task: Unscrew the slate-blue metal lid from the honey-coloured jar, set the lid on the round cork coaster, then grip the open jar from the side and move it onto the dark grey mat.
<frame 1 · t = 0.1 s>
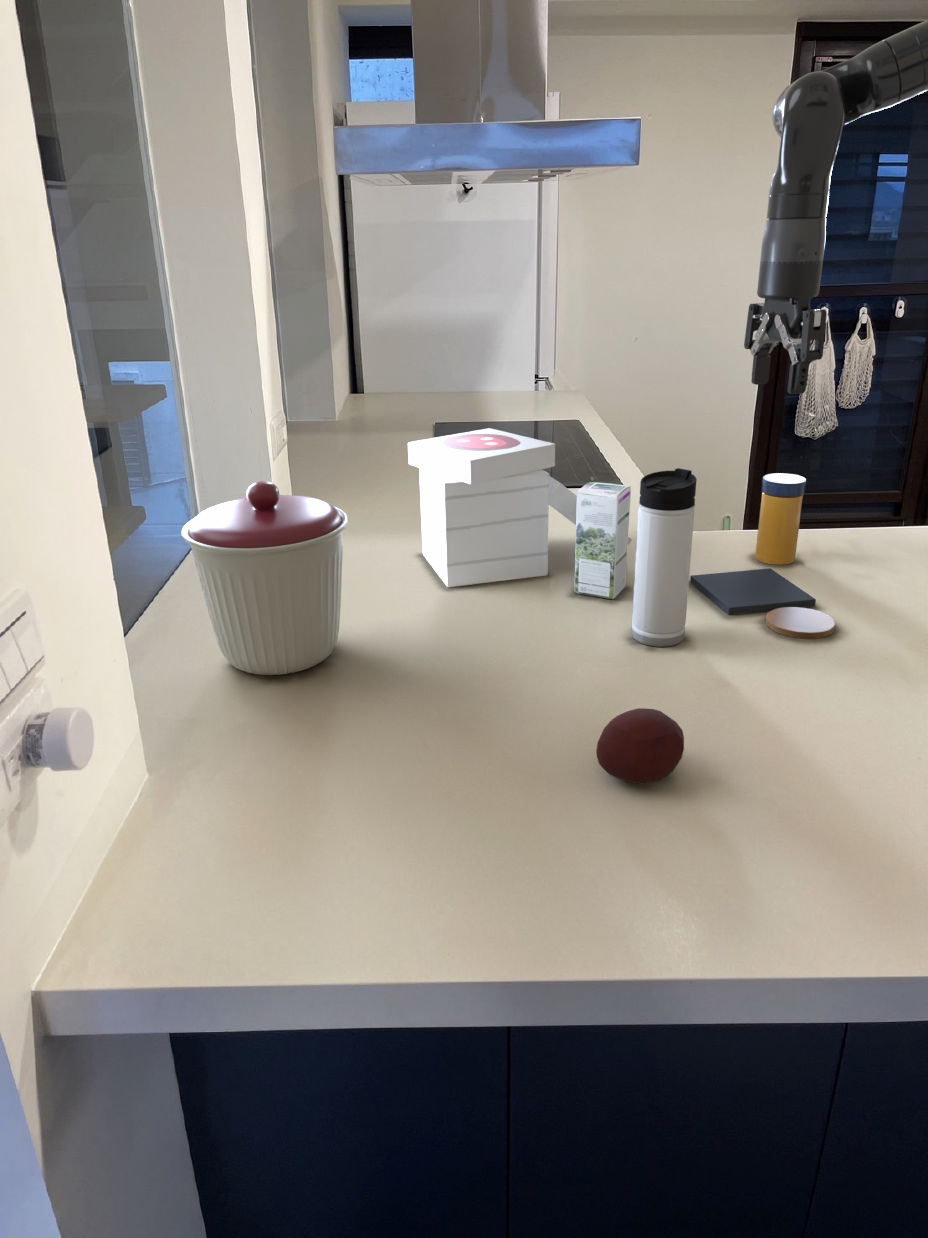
hand: (777, 388, 121), 25 cm above the table, tool pointing down, fingers open, 8 cm apart
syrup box: (600, 591, 124), on the table
coaster: (799, 625, 112), on the table
pizza boxes: (517, 560, 136), on the table
canister: (281, 658, 107), on the table
jar: (774, 558, 134), on the table
mat: (750, 593, 121), on the table
potato: (640, 776, 82), on the table
travel mug: (658, 637, 110), on the table
jar lid: (784, 481, 129), point 12 cm above the table, screwed on, not yet turned
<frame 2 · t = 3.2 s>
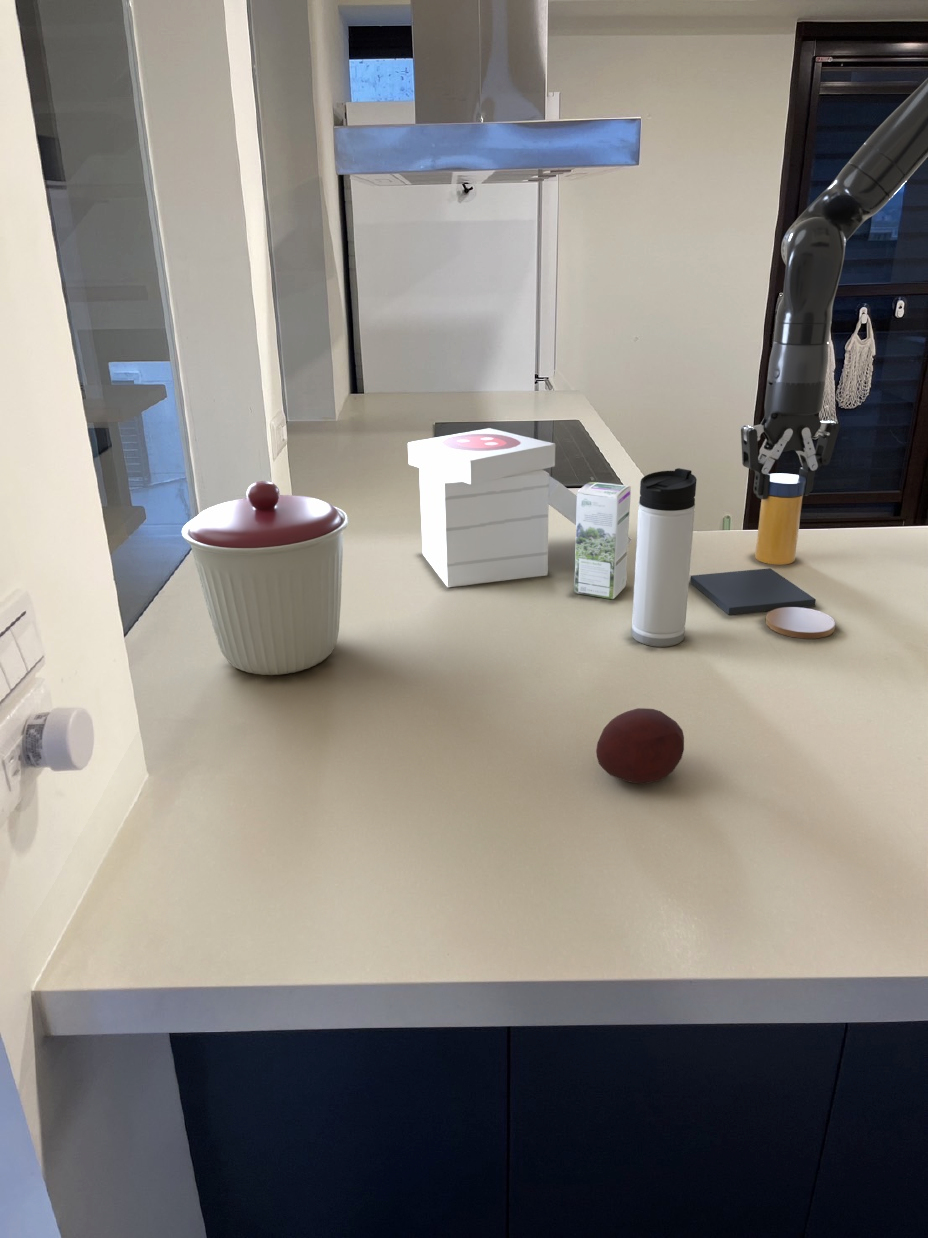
hand: (782, 495, 130), 10 cm above the table, tool pointing down, fingers closed on jar lid, 5 cm apart
jar lid: (784, 481, 129), point 12 cm above the table, screwed on, not yet turned, touching gripper
everything else where it was.
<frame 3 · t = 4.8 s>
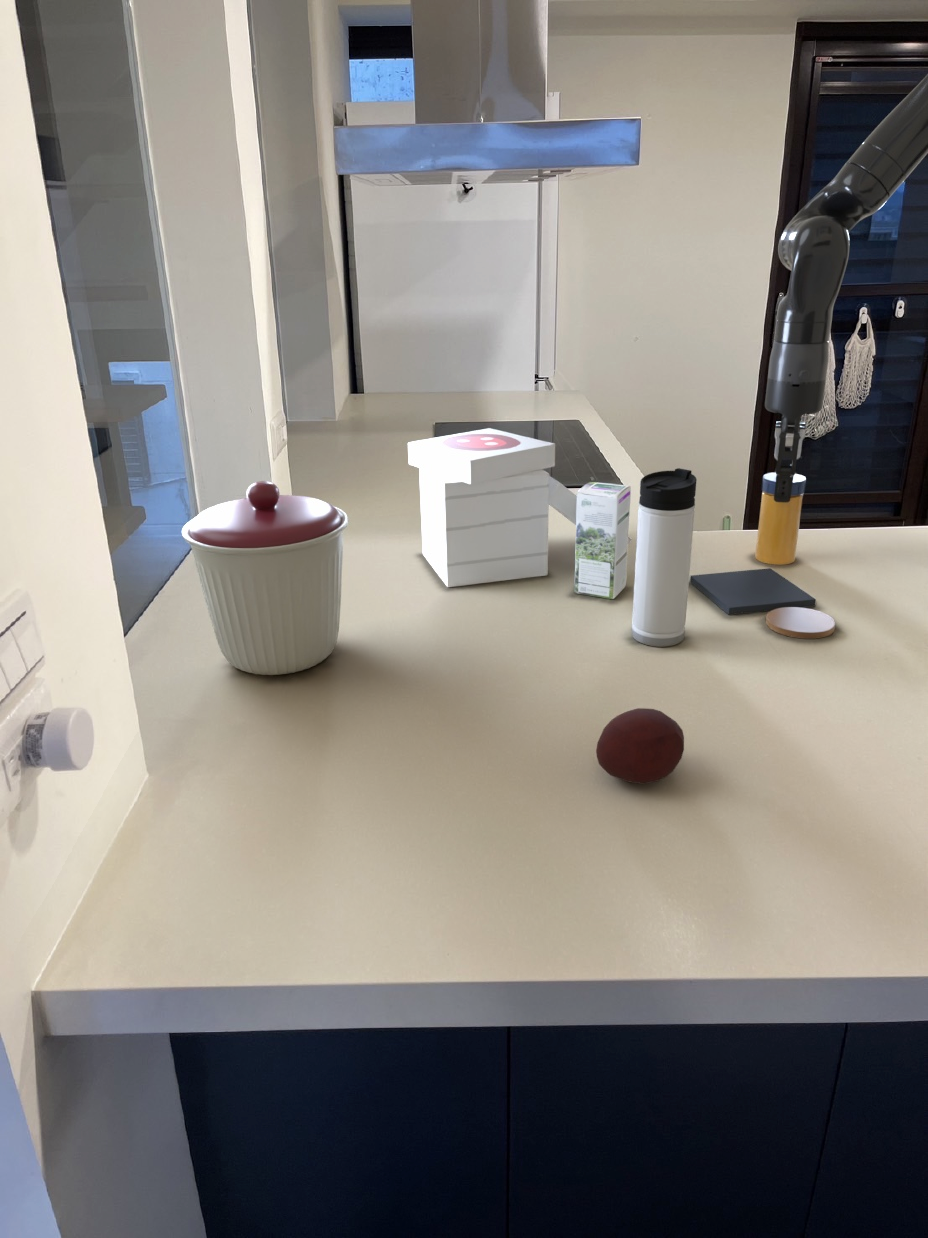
hand: (782, 494, 130), 10 cm above the table, tool pointing down, fingers closed on jar lid, 5 cm apart
jar lid: (784, 480, 129), point 12 cm above the table, turned 60° so far, risen 0.2 cm, still on its thread, touching gripper
everything else where it was.
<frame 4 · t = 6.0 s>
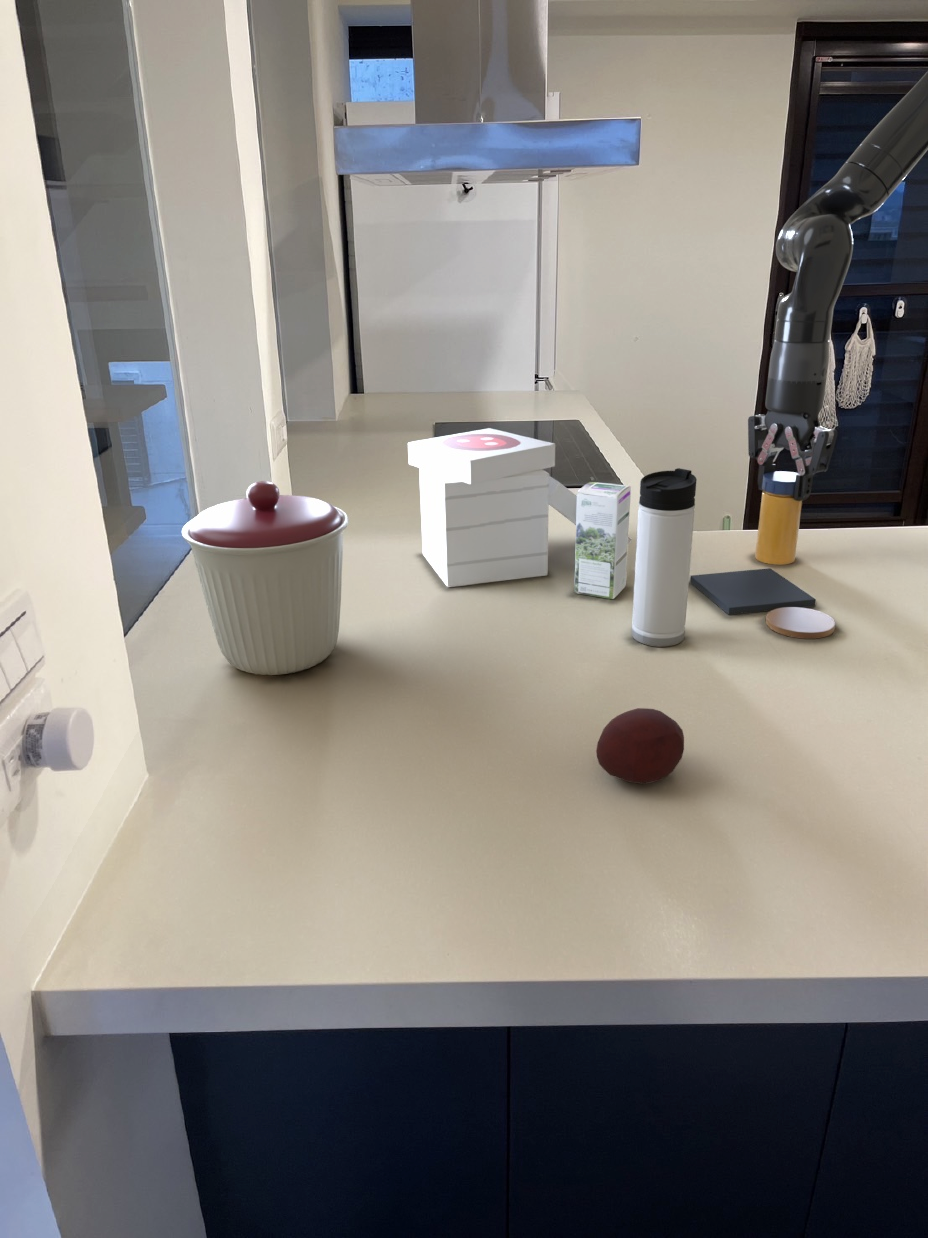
hand: (782, 494, 130), 10 cm above the table, tool pointing down, fingers closed on jar lid, 5 cm apart
jar: (774, 558, 134), on the table, touching gripper
jar lid: (784, 479, 129), point 12 cm above the table, off its thread, touching gripper
everything else where it was.
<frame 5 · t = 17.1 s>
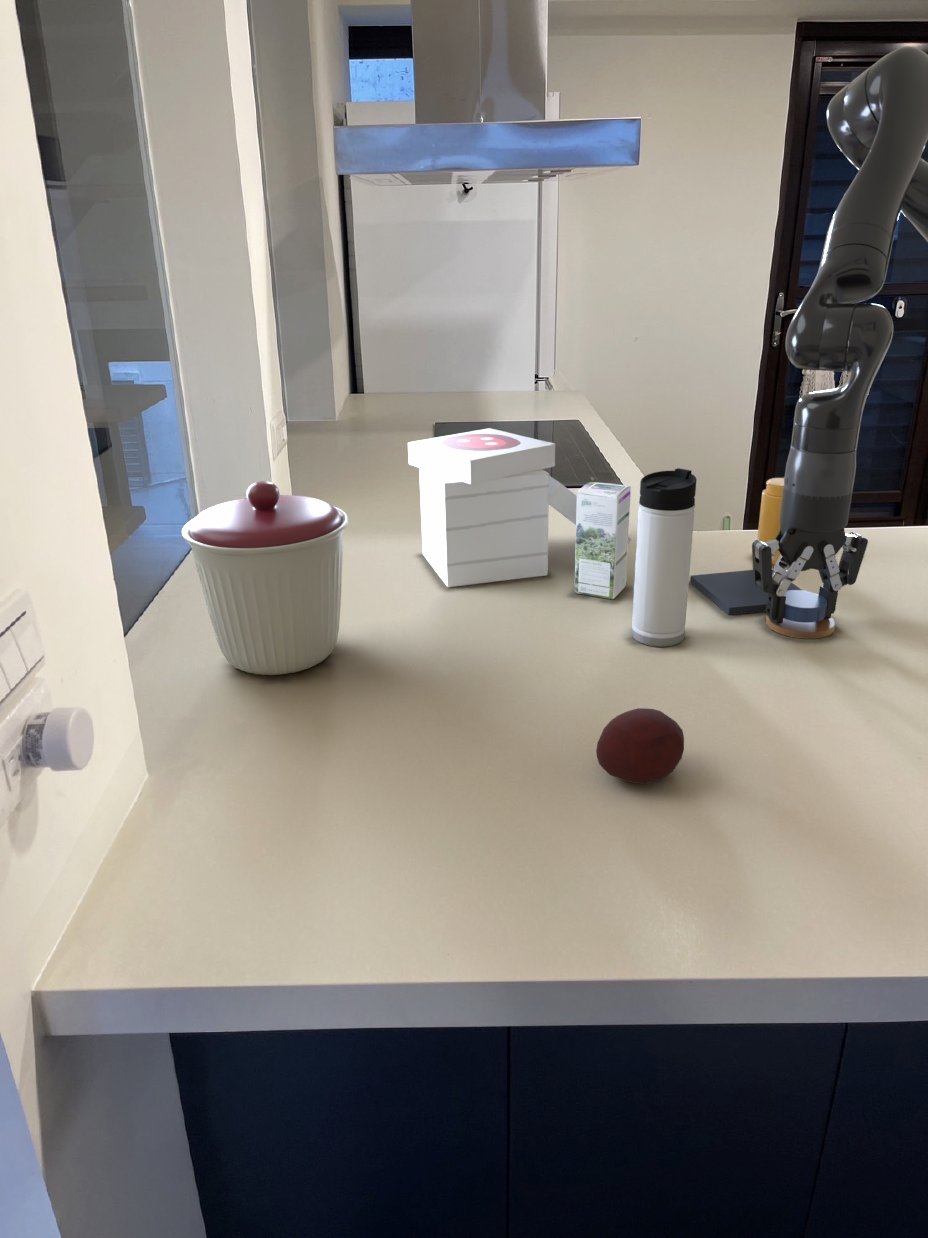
hand: (799, 618, 111), 1 cm above the table, tool pointing down, fingers closed on jar lid, 5 cm apart
jar: (774, 558, 134), on the table
jar lid: (801, 601, 111), point 3 cm above the table, off its thread, touching gripper
everything else where it was.
when the fingers open (1 cm above the table, at t = 23.8 s): jar lid drops 1 cm, resting on coaster.
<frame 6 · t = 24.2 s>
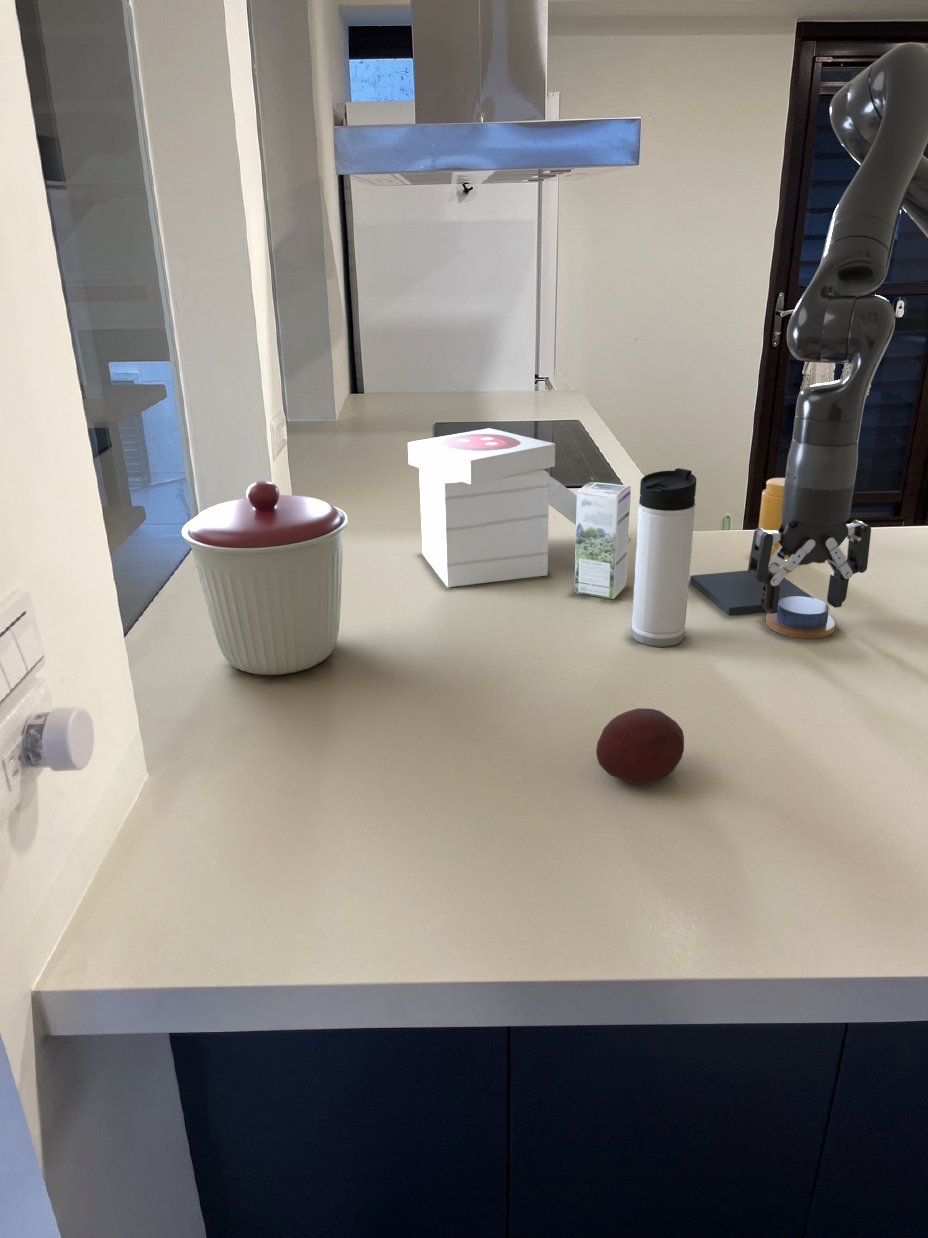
hand: (802, 608, 111), 2 cm above the table, tool pointing down, fingers open, 8 cm apart
jar lid: (803, 608, 111), point 2 cm above the table, off its thread, touching coaster
everything else where it was.
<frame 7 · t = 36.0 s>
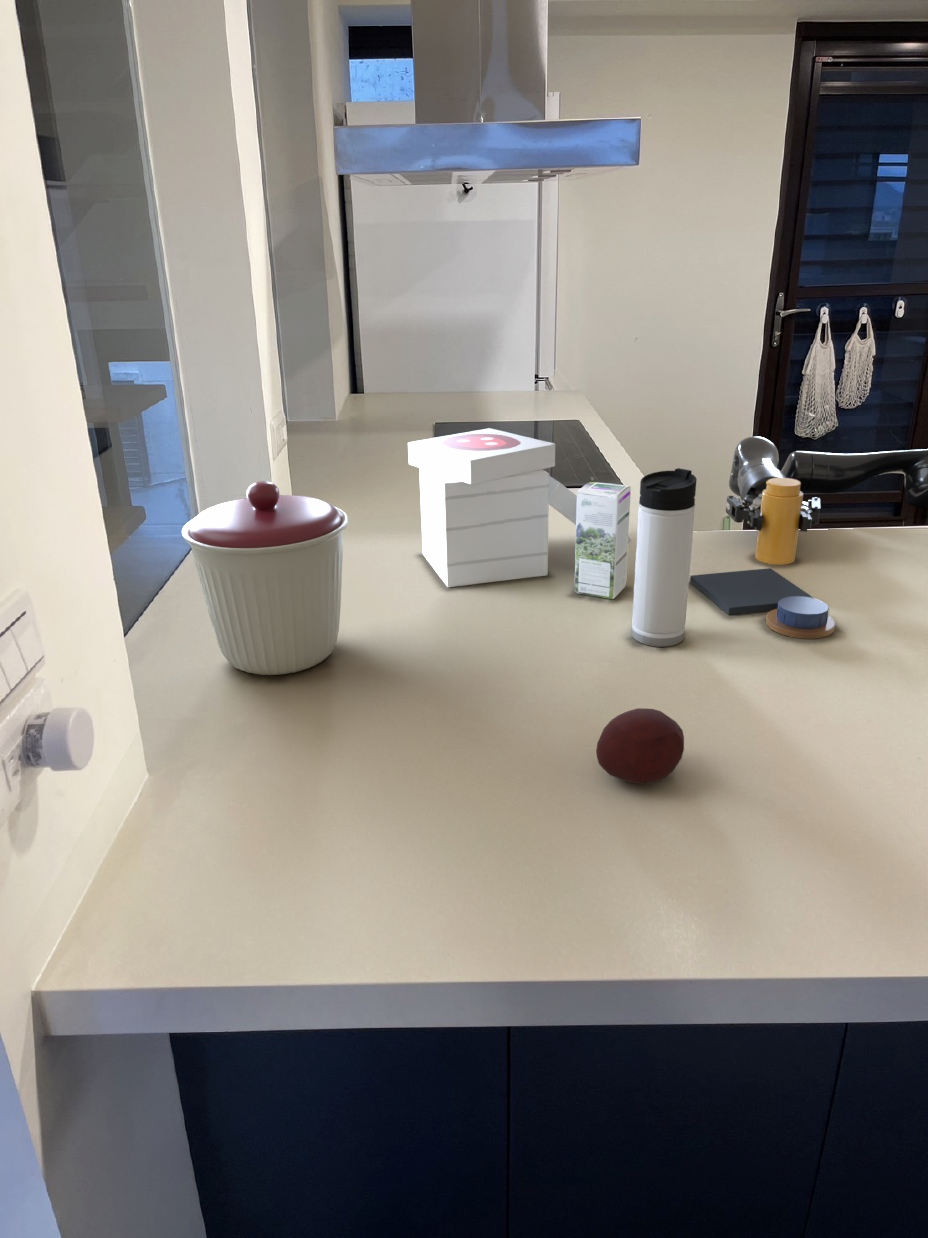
hand: (782, 524, 129), 6 cm above the table, tool horizontal, fingers closed on jar, 5 cm apart
jar: (774, 558, 134), on the table, touching gripper
everything else where it was.
when the fingers open (7 cm above the table, at t = 44.1 s): jar stays where it is, resting on mat.
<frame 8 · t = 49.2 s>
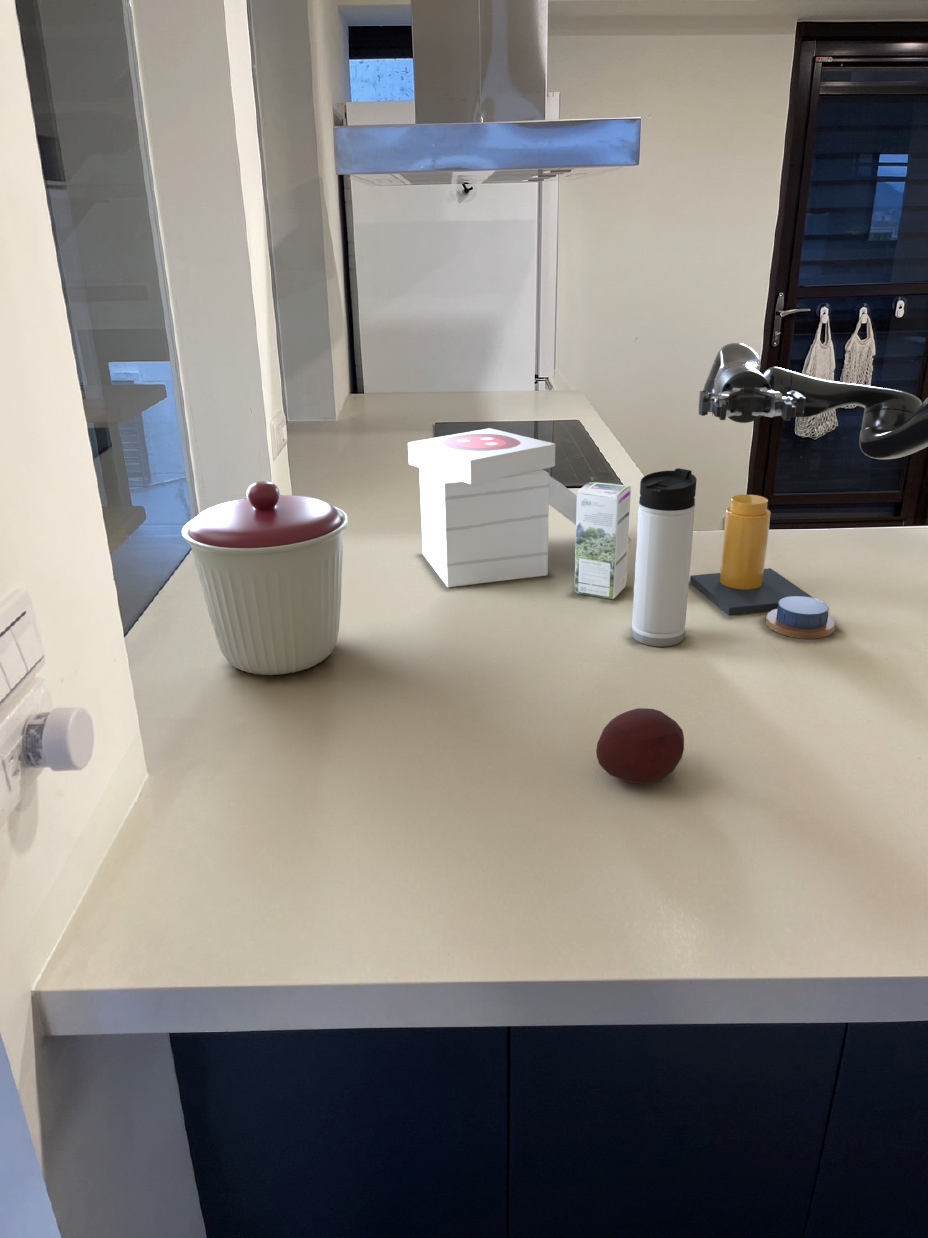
hand: (756, 412, 123), 22 cm above the table, tool horizontal, fingers open, 8 cm apart
jar: (740, 582, 123), point 1 cm above the table, touching mat
everything else where it was.
at the end: jar lid came off its thread; jar lid 0.1 cm off-centre on the coaster, point 2.3 cm above the coaster's base; jar inside the target area on the mat (2.0 cm from its centre), point 1.0 cm above the mat's base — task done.
